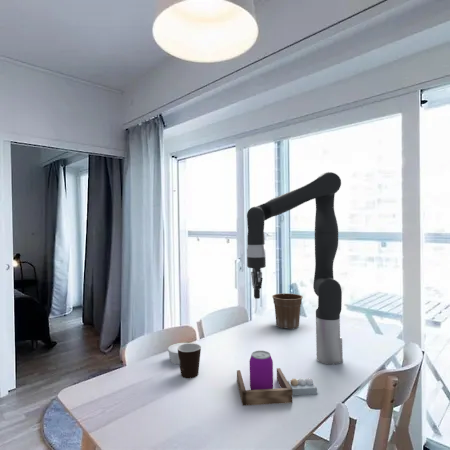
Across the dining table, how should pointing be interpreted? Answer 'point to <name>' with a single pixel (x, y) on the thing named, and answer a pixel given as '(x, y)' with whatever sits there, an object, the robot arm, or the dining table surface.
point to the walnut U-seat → (265, 392)
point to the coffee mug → (189, 359)
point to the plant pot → (287, 310)
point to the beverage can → (261, 370)
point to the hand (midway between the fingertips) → (256, 298)
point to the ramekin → (174, 353)
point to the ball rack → (302, 386)
